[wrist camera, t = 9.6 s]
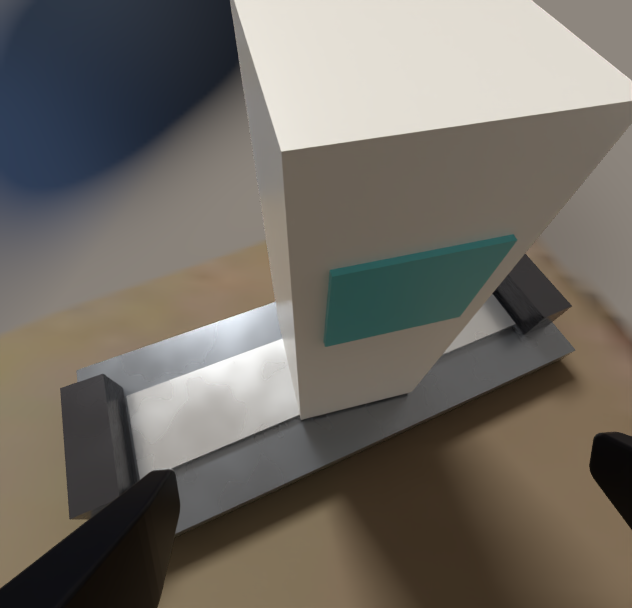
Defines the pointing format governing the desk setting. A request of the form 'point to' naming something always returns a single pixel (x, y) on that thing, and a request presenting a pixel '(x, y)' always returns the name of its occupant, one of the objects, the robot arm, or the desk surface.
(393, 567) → the desk surface
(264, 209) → the block
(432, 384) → the mounting plate
